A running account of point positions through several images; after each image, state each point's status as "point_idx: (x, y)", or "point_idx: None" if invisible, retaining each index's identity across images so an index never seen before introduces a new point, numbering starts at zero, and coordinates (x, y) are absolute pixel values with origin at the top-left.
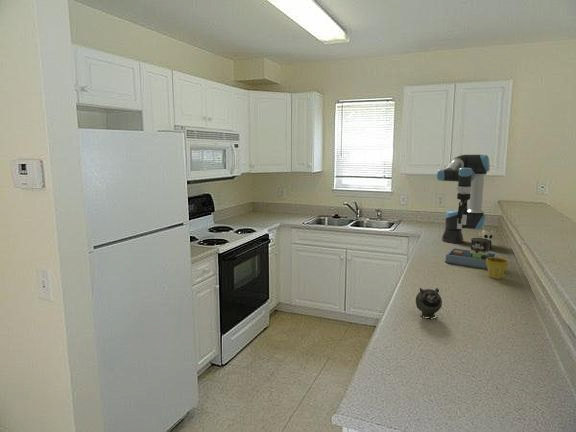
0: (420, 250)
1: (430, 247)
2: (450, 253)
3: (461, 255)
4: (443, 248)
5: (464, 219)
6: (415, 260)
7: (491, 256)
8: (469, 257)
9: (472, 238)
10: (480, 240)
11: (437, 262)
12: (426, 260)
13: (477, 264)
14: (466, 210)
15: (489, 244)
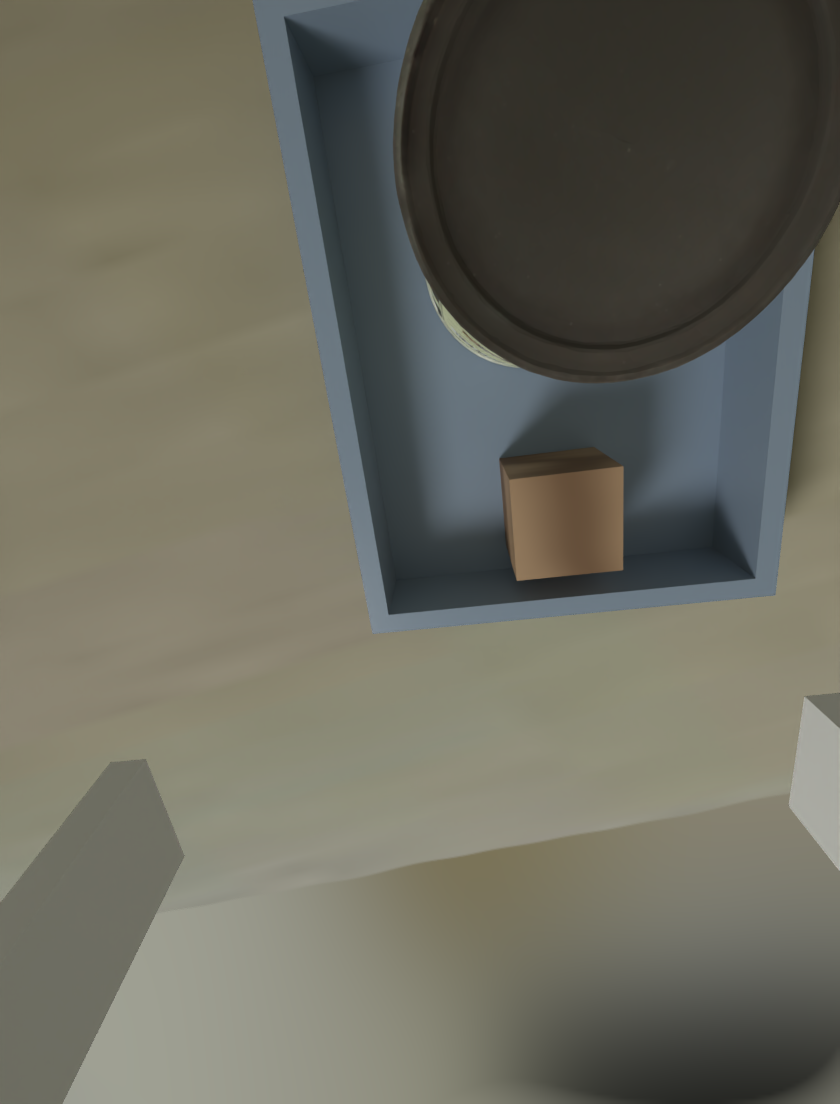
0: (407, 846)
1: (237, 821)
2: (609, 586)
3: (604, 459)
4: (177, 734)
5: (47, 981)
6: (789, 777)
7: (309, 113)
8: (377, 416)
9: (583, 366)
10: (688, 119)
11: (758, 618)
12: (736, 712)
13: None
14: None
15: None
